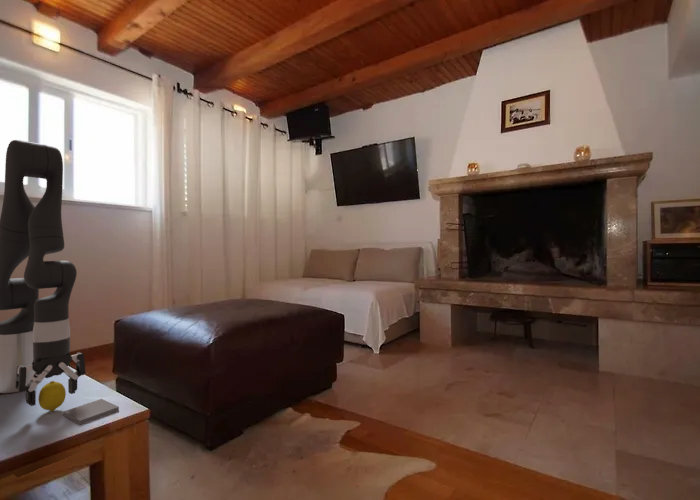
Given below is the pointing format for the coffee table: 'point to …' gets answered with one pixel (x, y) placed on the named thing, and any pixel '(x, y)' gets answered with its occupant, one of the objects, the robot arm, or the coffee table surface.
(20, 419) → the coffee table surface
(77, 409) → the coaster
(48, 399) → the lemon
